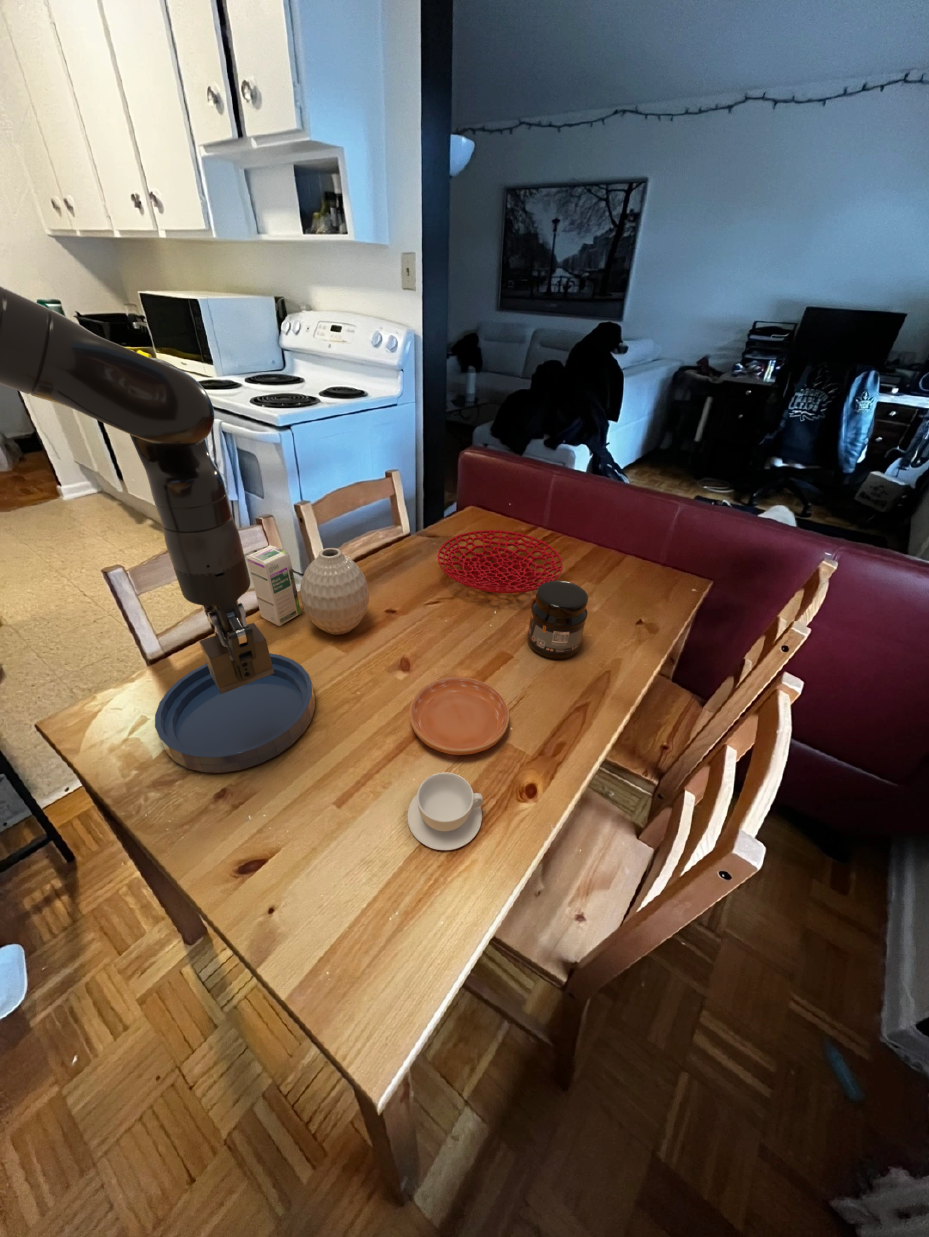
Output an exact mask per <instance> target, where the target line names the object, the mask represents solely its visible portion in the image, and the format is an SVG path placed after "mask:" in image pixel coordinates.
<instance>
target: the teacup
mask: <svg viewBox="0 0 929 1237" xmlns="http://www.w3.org/2000/svg"><path fill="white" fill-rule="evenodd" d="M483 798H484V797H483V794H482V793H480V792H474V790H473V788H472V785H471V784H470V783H469V782H468V780H467V779H465V778H464V777H462V776H461V775H459V774H457V773H453V772H450V771H449V772H446V771H444V772H437V773H434V774H431V775H429V776H428V777H427V778H425V779H423V781H422V782H421V783H420V785H419V786H418V788H417V792H416V794H415V796H414V797H413V799H412V800H411V801H410V804H409V806H408V809H407V825H408V827H409V831H411V834H412V835H413V836H414V837H415V839H416V840H417V841H418V842H420V843H421V844H422V845H424V846H426V847H427V848H431V849H433V850H438V851H451V850H456V849H459V848H461V847H464V846H466V845H467V844H468V843H470V842H471V841H472V840H473V839H474V838H475V837H476V835H477V834H478V832H479V830H480V828H481V825H482V822H483V821H482V820H483V813H482V808H481V806H482V805H483V803H484V802H483V801H484V799H483Z"/></svg>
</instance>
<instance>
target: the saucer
mask: <svg viewBox="0 0 929 1237" xmlns="http://www.w3.org/2000/svg"><path fill="white" fill-rule="evenodd" d="M408 709H409V710H408V716H409V722H410V725H411V728H412V730H413V732H414V733H415V735H416V736H417V737H418V738H419V739H420V741H421V742H422V743H424V744H425V745H426V746H428V747H429V748H431V749H434V750H436V751H438V752H440V753H444V754H447V755H458V756H463V755H464V756H465V755H473V754H477V753H480V752H484V751H486V750H488V749H490V748H491V747H493V746H494V745H496V744H497V743H498V742H499V741H500V740H501V739H502V738H503V737H504V736H505V733H506V732H507V729H508V726H509V723H510V709H509V706H508V704H507V702H506V699H505V698H504V697H503V696H502V694H501V693H500V692H499V691H498V690H497V689H495V688H494V687H493V686H491V685H489V684H487V683H485V682H484V681H481V680H478V679H475V678H471V677H467V676H447V677H442V678H439V679H436V680H433V681H431V682H429V683H427V684H426V685H424V686H422V687H421V688H420V689H419V690H418V691H417V692H416V693H415V695H414V696H413V698H412V700H411V701H410V705H409V708H408Z"/></svg>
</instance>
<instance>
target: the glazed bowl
mask: <svg viewBox="0 0 929 1237" xmlns="http://www.w3.org/2000/svg"><path fill="white" fill-rule="evenodd" d="M269 654H270V658H271V662H272V667H273V671H274V674H271V675H269V676H266V677H263V678H261V679H258V680H256V681H253V682H251V683H248V684H246V685H243V686H241V687H238V688H236V689H233V690H230V691H228V692H225V693H223V694H221V693H220V691H219V689H218V688H217V686H216V684H215V682H214V680H213V678H212V677H211V674H210V671H209V668H208V665H207V662H206V663H204V664H202V665H201V666H198V667H197V668H195V669H192V670H190V671H189V672H187V674H185V675H184V676H182V677H181V678H180V679H178V680H177V681H176V682H174V684H173V685H172V686H171V687H170V688H169V689H168V690H167V691H166V692H165V694H164V695H163V697H162V698H161V700H160V701H159V703H158V706H157V708H156V711H155V714H154V727H155V731H156V733H157V735H158V737H159V740H160V742H161V744H162V746H163V749H164V751H165V753H166V754H167V755H168V756H169V758H171V759H172V761H174V762H175V763H177V764H179V765H180V766H182V767H184V768H186V769H188V770H193V771H196V772H197V771H198V772H201V773H228V772H235V771H242V770H246V769H248V768H251V767H254V766H257V765H260V764H262V763H264V762H267V761H269V760H271V759H273V758H274V757H277V756H279V755H280V754H281V753H283V752H285V751H286V750H287V749H289V748H290V747H291V746H292V745H294V743H295V742H296V741H297V740H299V739H300V737H301V736H302V735H303V734H304V733H305V732H306V730H307V728H308V726H309V725H310V723H311V722H312V719H313V716H314V712H315V711H316V710H315V708H316V706H315V705H316V704H315V703H316V700H315V699H316V698H315V693H314V687H313V682H312V680H311V677H310V674H309V673H308V671H307V670H305V668H304V667H303V665H301V664H300V663H299V662H297V661H296V660H294V659H293V658H292V659H291V658H289V657H287V656H284V655H281V654H276V653H271V652H269Z"/></svg>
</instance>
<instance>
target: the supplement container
mask: <svg viewBox="0 0 929 1237" xmlns="http://www.w3.org/2000/svg"><path fill="white" fill-rule="evenodd" d="M535 591H536V592H535V597H534V599H533V601H532V603H531V607H530V611H531V612H530V618H529V624H528V625H529V626H528V630H527V636H526V637H527V638H526V640H527V643H528V645H529V647H530V648H531V649H532V650H533V651H534V652H535V653H537V654H538V655H541V656H543V657H546V658H550V659H558V660H559V659H560V660H561V659H567V658H569V657H572V656H574V655H575V654H576V653H577V652H578V651H579V650H580V648H581V643H582V636H583V633H584V628H585V625H586V621H587V618H588V608H587V606H588V602H589V595H588V593H587V591H585V589H584V588H582V587H581V586H579V585H578V584H575V583H573V582H569V581H565V580H555V581H549V582H546V583H543V584H541V585H540V586H539V587H538V588H537V590H535Z"/></svg>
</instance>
